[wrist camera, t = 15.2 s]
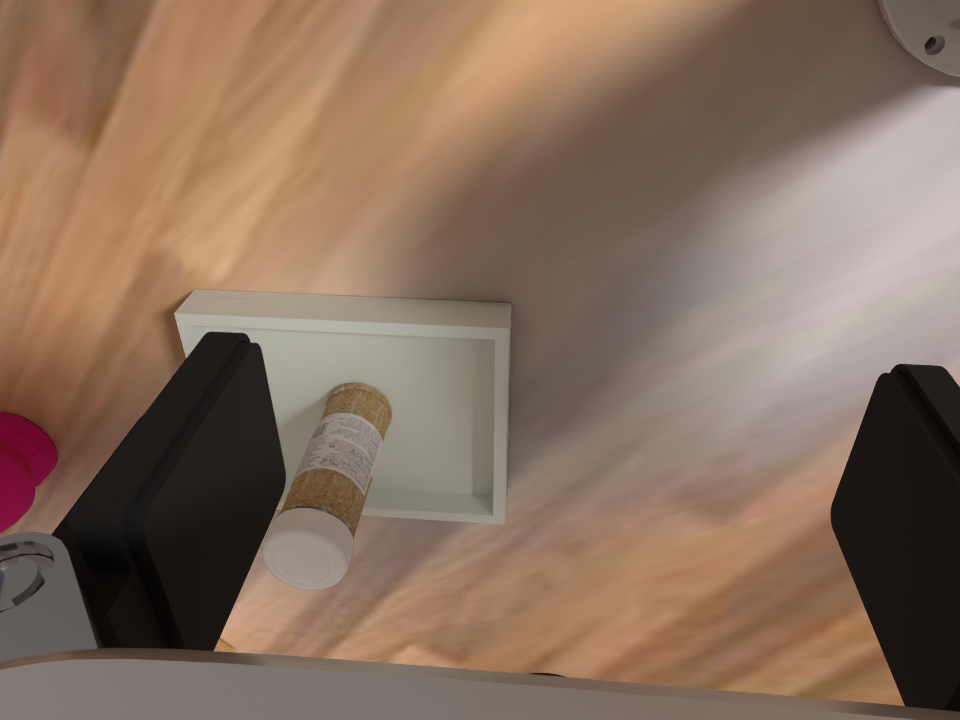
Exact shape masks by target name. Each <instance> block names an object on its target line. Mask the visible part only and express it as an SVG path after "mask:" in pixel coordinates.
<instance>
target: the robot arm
mask: <svg viewBox="0 0 960 720" xmlns="http://www.w3.org/2000/svg"><path fill="white" fill-rule="evenodd" d="M878 4H879V8H880V11H881V15H882V17H883V19H884V20H885V22H886V24H887V26H888V28H889V30H890V32H891V33H892V35H893V37H894V38H895V39H896V40H897V41H898V42H899V43H900V44H901V45H902V46H903V48H904V49H905V50H906V51H907V52H908V53H909V54H911V55H912V56H914V57H915V58H917V59H918V60H920V61H921V62H923V63H924V64H926V65H928V66H930V67H932V68H934V69H936V70H939V71H941V72H943V73H945V74H948V75H952V76H957V77H960V0H878ZM931 37H932V42H931V44H930V45H928V46H927V47H925V44H926V42H927V40H928V39H929V38H931ZM285 483H286V470H285V464H284V459H283V454H282V449H281V444H280V439H279V434H278V429H277V424H276V419H275V414H274V409H273V404H272V399H271V394H270V389H269V384H268V379H267V374H266V369H265V364H264V359H263V354H262V350H261V347H260V345H259V344H258V343H252V342H251V341H250V339H249V337H248V335H247V334H245V333H234V332H213V331H211V332H207V333H206V334H205V335H204V336H203V337H202V338H201V340H200V341H199V342H198V344H197V345H196V346H195V348H194V349H193V350H192V352H191V353H190V354H189V356H188V357H187V358H186V360H185V361H184V362H183V364H182V365H181V366H180V368H179V369H178V370H177V372H176V373H175V374H174V375H173V377H172V378H171V379H170V381H169V382H168V383H167V385H166V386H165V387H164V389H163V390H162V391H161V393H160V394H159V395H158V397H157V398H156V399H155V401H154V402H153V403H152V405H151V406H150V407H149V409H148V410H147V411H146V413H145V414H144V415H143V416H142V417H141V418H140V419H139V420H138V421H137V423H136V424H135V425H134V426H133V428H132V429H131V430H130V432H129V433H128V434H127V436H126V437H125V438H124V440H123V441H122V442H121V444H120V445H119V446H118V448H117V449H116V450H115V452H114V453H113V454H112V456H111V457H110V458H109V459H108V461H107V462H106V463H105V465H104V466H103V467H102V469H101V470H100V471H99V473H98V474H97V475H96V477H95V478H94V479H93V481H92V482H91V483H90V485H89V486H88V487H87V488H86V490H85V491H84V492H83V494H82V495H81V496H80V498H79V499H78V500H77V502H76V503H75V504H74V506H73V507H72V508H71V510H70V511H69V512H68V514H67V515H66V516H65V518H64V519H63V520H62V521H61V523H60V524H59V525H58V527H57V528H56V529H55V531H54V532H53V533H52V535H50V534H45V533H38V532H27V533H17V534H12V535H9V536H5V537H2V538H0V720H960V387H959V386H958V384H957V383H956V382H955V380H954V379H953V378H952V376H951V375H950V374H949V373H948V371H947V370H946V369H945V368H943V367H941V366H933V365H912V364H899V365H896V366H895V367H894V368H893V369H892V370H891V372H890V373H884V374H881V375H880V377H879V378H878V380H877V382H876V385H875V387H874V390H873V393H872V396H871V398H870V401H869V404H868V407H867V409H866V412H865V415H864V418H863V420H862V423H861V426H860V429H859V431H858V434H857V437H856V439H855V442H854V445H853V448H852V450H851V453H850V456H849V459H848V461H847V464H846V467H845V470H844V472H843V475H842V478H841V481H840V483H839V486H838V489H837V492H836V494H835V497H834V500H833V503H832V506H831V524H832V528H833V531H834V533H835V536H836V538H837V540H838V543H839V545H840V548H841V550H842V553H843V555H844V558H845V560H846V563H847V565H848V567H849V570H850V572H851V575H852V577H853V580H854V582H855V585H856V587H857V589H858V592H859V594H860V597H861V599H862V602H863V604H864V607H865V609H866V612H867V614H868V616H869V619H870V621H871V624H872V626H873V629H874V631H875V634H876V636H877V638H878V641H879V643H880V646H881V648H882V651H883V653H884V656H885V658H886V660H887V663H888V665H889V668H890V670H891V673H892V675H893V678H894V680H895V683H896V685H897V687H898V690H899V692H900V695H901V697H902V700H903V702H904V705H905V706H897V705H887V704H877V703H866V702H854V701H843V700H831V699H820V698H808V697H796V696H785V695H773V694H762V693H750V692H738V691H727V690H715V689H704V688H692V687H680V686H668V685H656V684H644V683H631V682H619V681H607V680H595V679H582V678H570V677H558V676H545V675H533V674H520V673H508V672H495V671H483V670H470V669H458V668H444V667H431V666H418V665H405V664H391V663H378V662H365V661H352V660H338V659H325V658H312V657H299V656H285V655H269V654H252V653H235V652H218V651H214V649H215V647H216V645H217V643H218V640H219V638H220V636H221V633H222V631H223V629H224V627H225V624H226V622H227V620H228V618H229V615H230V613H231V611H232V608H233V606H234V604H235V602H236V599H237V597H238V595H239V593H240V590H241V588H242V586H243V583H244V581H245V579H246V577H247V574H248V572H249V570H250V568H251V565H252V563H253V561H254V558H255V556H256V554H257V552H258V549H259V547H260V545H261V543H262V540H263V538H264V536H265V533H266V531H267V529H268V527H269V524H270V522H271V520H272V518H273V515H274V513H275V511H276V508H277V506H278V504H279V502H280V499H281V497H282V495H283V492H284V489H285Z"/></svg>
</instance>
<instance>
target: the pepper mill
mask: <svg viewBox="0 0 960 720" xmlns="http://www.w3.org/2000/svg"><path fill="white" fill-rule="evenodd" d="M56 462H57V451H56V449H55V446H54V444H53V442H52V441H51V440H50V438H49V437H48V436H47V434H46V433H45V432H43V431H42V430H41V429H40V428H39V427H38V426H37V425H35V424H33V423H32V422H30V421H28V420H26V419H24V418H22V417H19V416H16V415H13V414H8V413H0V533H2V532H3V531H5V530H6V529H8V528H9V527H11V526H12V525H13V524H15V523H16V522H17V521H18V520H19V519H20V518H21V517H22V516H23V515H24V514H25V513H26V512H27V511H28V510H29V508H30V507H31V505H32V504H33V501H34V497H35V487H37V486H38V485H40V484H41V483H42V482H43V481H44V479H45V478H46V477H47V476H48V475H49V473H50V472H51V471H52V470H53V469H54V467H55V465H56Z"/></svg>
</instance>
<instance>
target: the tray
mask: <svg viewBox="0 0 960 720" xmlns="http://www.w3.org/2000/svg"><path fill="white" fill-rule="evenodd" d="M174 315H175V319H176V323H177V326H178V330H179V334H180V337H181V341H182V345H183V349H184V352H185V356H186V358H187V357H188V356H189V354H190V353H191V352H192V350H193V349H194V348H195V346H196V345H197V344H198V342H199V341H200V340H201V338H202V337H203V336H204V335H205V334H206V333H207V332H211V331H213V332H234V333H245V334H247V335H248V337H249V339H250V341H251V342H252V343H258V344H259V345H260V347H261V350H262V354H263V359H264V364H265V369H266V374H267V379H268V384H269V389H270V394H271V399H272V404H273V409H274V414H275V419H276V424H277V429H278V434H279V439H280V444H281V449H282V454H283V459H284V464H285V470H286V483H285V489H284V492H283V495H282V497H281V499H280V502H279V504H278V506H277V508H276V510H282V507H283V505H284V503H285V501H286V497H287V495H288V493H289V491H290V488H291V484H292V481H293V479H294V476H295V474H296V472H297V469H298V467H299V465H300V462H301V460H302V457H303V455H304V453H305V451H306V448H307V446H308V444H309V441H310V439H311V437H312V435H313V432H314V430H315V428H316V426H317V424H318V423H319V422H320V419H321V417H322V415H323V413H324V410H325V406H326V401H327V399H328V396H329V395H330V393H332V392H333V391H334V390H335V389H336V388H338V387H339V386H341V385H344V384H349V383H361V384H366V385H368V386H371V387H373V388H375V389H377V390H378V391H379V392H381V393H382V394H383V395H384V396H385V397H386V398H387V399H388V402H389V403H390V406H391V409H392V421H391V424H390V426H389V427H388V429H387V431H386V434H385V438H384V441H383V443H382V451H381V454H380V458H379V461H378V464H377V468H376V471H375V474H374V478H373V481H372V483H371V485H370V487H369V491H368V494H367V497H366V501H365V504H364V507H363V510H362V512H361V515H363V516H378V517H393V518H409V519H424V520H439V521H454V522H470V523H485V524H500V525H505V513H506V501H507V478H508V439H509V399H510V359H511V320H512V303H500V302H477V301H454V300H430V299H407V298H384V297H360V296H337V295H313V294H290V293H267V292H243V291H220V290H197V289H195V290H194V291H193V292H192V293H191V294H190V295H189V297H188V298H187V299H186V300H185V301H184V302H183V304H182V305H181V306H180V307H179V308H178V309H177V311H176V312H175V313H174Z"/></svg>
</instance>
